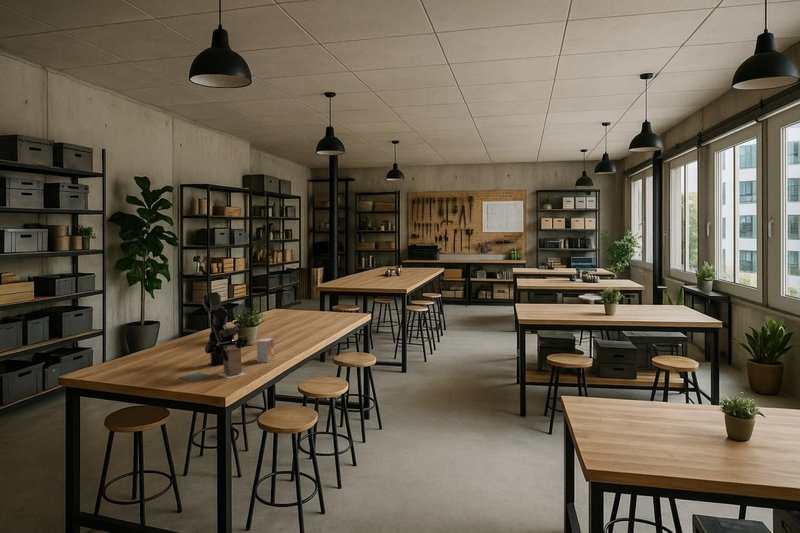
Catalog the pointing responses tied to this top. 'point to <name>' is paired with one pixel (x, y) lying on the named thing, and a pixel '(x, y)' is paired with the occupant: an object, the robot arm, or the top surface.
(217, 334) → the robot arm
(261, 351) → the small box
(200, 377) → the rubber mat
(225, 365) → the walnut block
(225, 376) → the card
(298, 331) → the top surface
